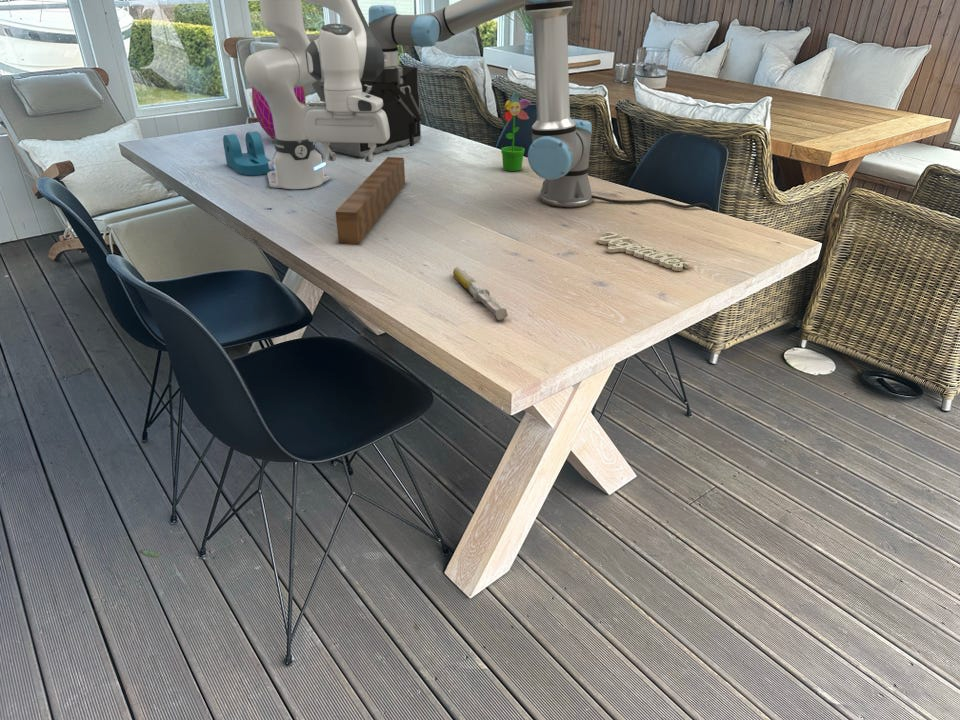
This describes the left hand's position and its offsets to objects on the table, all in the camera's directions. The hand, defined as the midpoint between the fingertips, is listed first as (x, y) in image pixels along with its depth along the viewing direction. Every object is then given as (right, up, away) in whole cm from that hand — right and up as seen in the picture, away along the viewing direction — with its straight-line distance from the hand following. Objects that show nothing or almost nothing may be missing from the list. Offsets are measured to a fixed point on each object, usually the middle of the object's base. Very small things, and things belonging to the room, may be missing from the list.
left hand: (350, 160), depth 168 cm
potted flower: (+43, +16, +64) cm, 79 cm away
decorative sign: (+70, -23, -1) cm, 74 cm away
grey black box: (-9, +32, +90) cm, 96 cm away
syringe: (+31, -36, -23) cm, 53 cm away
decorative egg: (-44, +36, +97) cm, 112 cm away
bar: (+2, -7, +26) cm, 27 cm away
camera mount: (-45, +15, +61) cm, 77 cm away
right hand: (+5, +15, +35) cm, 39 cm away
